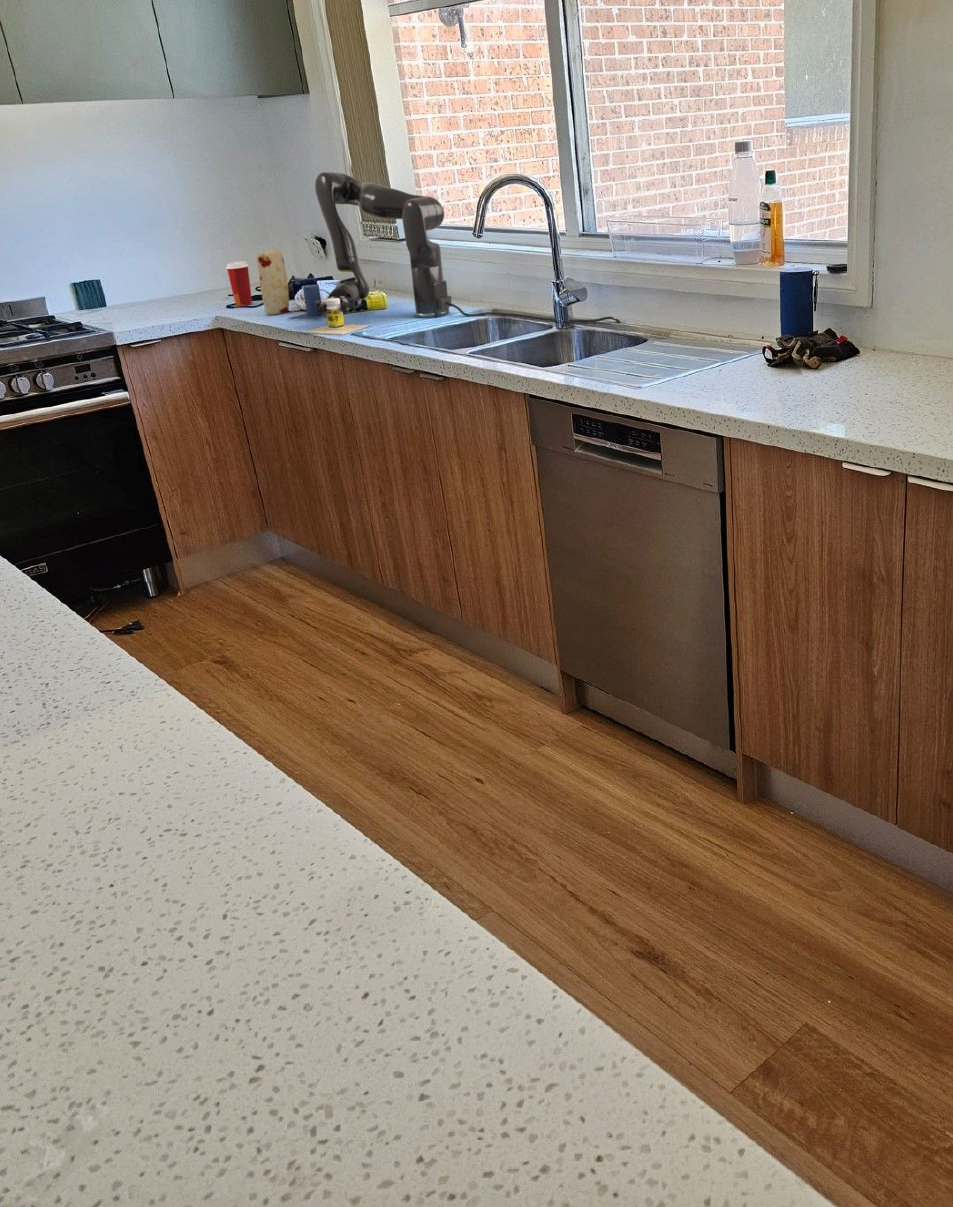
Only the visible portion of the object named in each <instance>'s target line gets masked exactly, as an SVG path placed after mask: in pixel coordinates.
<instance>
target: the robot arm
mask: <svg viewBox="0 0 953 1207" xmlns="http://www.w3.org/2000/svg"><path fill="white" fill-rule="evenodd" d="M314 191H315V196H316V199H317V202H318V205H319V208H320V212H321V213H322V217H323V219H324V222H325V225H326V227H327V230H328V234H329V237H330V241H331V245H332V249H333V255H334V259H335V265H336V269H337V270H338V272H341V273H342V272H343V273H345V272H346V273H353V275H354V276H353V277H349V278H344V279H340V280H338V281H337V282H336V283H335V288H334V289H333V290H332V291H330V293H329V294H328V297H327V299H332V298H339V299H340V305H341V311H342V312H343V315H345V314H347V313H349V311H351V310H356V309H358V308H359V307H361V306H362V300H363V299H367V298H368V296H369V294H370V285H369V283H368V281H367V279H366V277H365V275H364V272H363V271H362V269H361V265H360V262H359V258H358V252H357V247H356V244H355V240H354V237H353V236H352V234H351V233H350V231H349V229H348V228H347V226H346V225H345V224H344V222H343V220H342V218H341V216H340V214H339V211H338V208H337V205H352V206H357V207H359V208H360V210H362V212H364V213H365V214H367V215H369V216H373V217H375V218H379V219H384V220H402V225H403V226H402V227H403V233H404V239H405V245H406V248H407V250H408V255H409V262H410V270H411V271H410V273H411V280H412V288H413V289H412V290H413V298H414V299H413V301H414V306H415V307H414V309H415V317H417V318H433V317H434V318H438V317H442V316H445V315H447V314H450V307H453V308H454V309H456V310H458V311H459V312H460V314H461V315H462V316H465V317H481V316H488V315H492V316H494V315H495V316H496V315H497V316H508V317H509V316H510V317H520V318H524V319H525V318H526V319H533V320H540V321H541V320H542V321H549V322H550V321H551V322H557V321H556V319H557V318H556V319H555V318H554V317H545V316H536V315H529V314H521V313H513V312H499V311H487V312H480V313H467V312H465V311H464V310H462V309H461V307H459V306H458V305H457V304H454V303H452V296H451V295H448V286H447V285H448V284H447V280H444V272H443V263H442V262H443V261H442V254H441V253H442V251H441V245H440V244H439V243H437V242H433V241H431V240H430V239H429V238H428V235H427V231H432V230H435V229H437V228H439V227H440V226H441V225H442V223H443V222H444V219H445V210H444V208H443V205H442V204H441V203H440V201H439V200H438V199H437V198H435V197H432V196H427V195H418V194H412V193H408V192H405V191H402V190H400V189H396V188H392V187H390V186H387V185H383V184H381V183H375V182H370V181H369V182H367V181H365V182H364V181H362V180H359V179H357V178H355V177H353V176H351V175H349V174H346V173H343V172H332V171H325V172H324V171H323V172H320V173H319V174H318V175H317V176H316V178H315V181H314ZM327 299H324V301H322V300H321V301H320V300H316V309H317V312H322V313H325V312H326V307H327V306H328V305H327V304H326V300H327ZM613 317H614V316H604V317H599V318H593V319H591V318H589V319H587V318H585V319H584V318H583V319H581V318H580V319H579V318H576V319H575V318H570V319H571V320H569V321H570V322H569V323H597V322H602V321H604V320H605V321H606V320H612V321H615V322H616V323H618V324H622V322H621V320H620V319H619V318H617V319H614V318H613Z"/></svg>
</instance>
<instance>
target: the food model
mask: <svg viewBox="0 0 953 1207" xmlns="http://www.w3.org/2000/svg"><path fill="white" fill-rule="evenodd" d="M256 263H257V264H256V265H257V273H258V282H259V287H260V292H261V297H262V298H261V299H262V302H263V306H264V312H265V314H266V315H267V316H268V315H271V316H272V315H273V316H274V315H280V314H285V313H288V312H289V309H290V300H289V299H290V296H289V295H290V294H289V293H290V292H289V281H288V276H287V270H286V266H285V262H284V257H283V253H282V251H281V250H279V249H270V250H267V251H261V252H260V253H258V254H257V255H256Z"/></svg>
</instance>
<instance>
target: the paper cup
mask: <svg viewBox="0 0 953 1207" xmlns="http://www.w3.org/2000/svg"><path fill="white" fill-rule="evenodd" d="M225 269H226V271H227V273H228V275H227V276H228V278H229V283H230V287H231V291H232V295H233V296H232V297H233V300H234V303H235V306H236V307H244V306H245V307H246V306H250V305H252V304H253V299H252V290H251V282H250V273H249V272H250V271H249V264H248V262H247V261H244V260H241V261H233V262H228V263H227V264H226V267H225Z"/></svg>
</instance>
